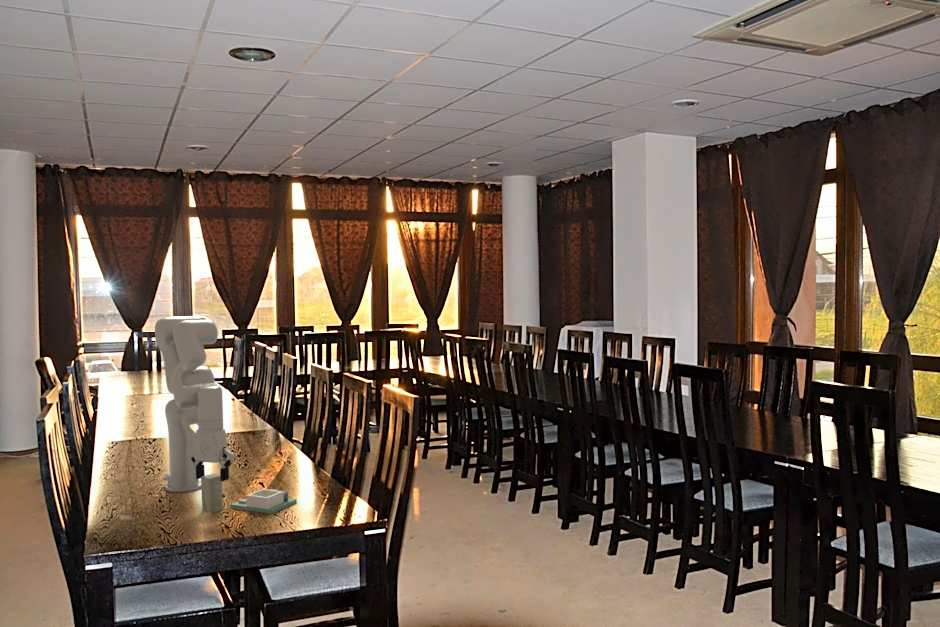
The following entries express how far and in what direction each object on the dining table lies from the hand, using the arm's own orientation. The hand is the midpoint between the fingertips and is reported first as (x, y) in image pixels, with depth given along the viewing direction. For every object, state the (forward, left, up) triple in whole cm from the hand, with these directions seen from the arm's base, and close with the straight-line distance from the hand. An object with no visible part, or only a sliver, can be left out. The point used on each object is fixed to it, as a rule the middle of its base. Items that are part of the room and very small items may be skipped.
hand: (212, 479), depth 256 cm
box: (-1, 0, -10) cm, 10 cm away
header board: (+11, +11, -10) cm, 19 cm away
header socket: (+13, +9, -9) cm, 19 cm away
